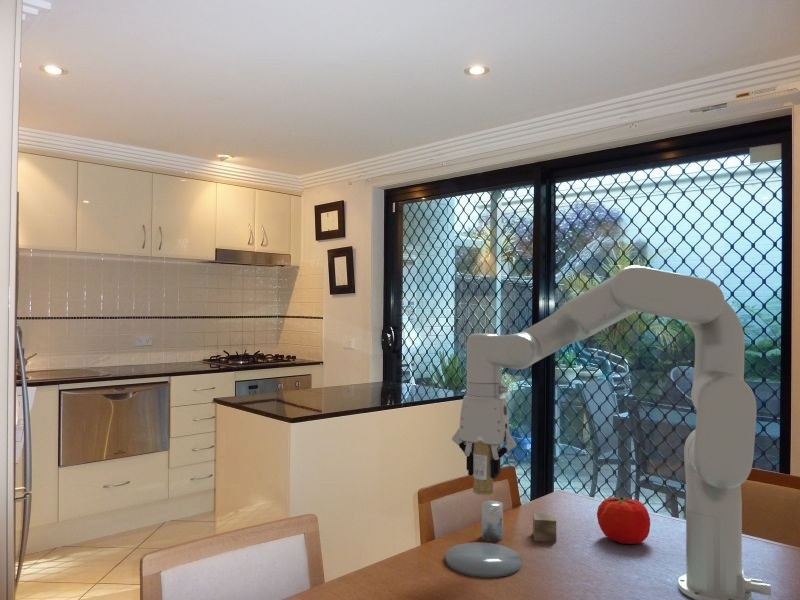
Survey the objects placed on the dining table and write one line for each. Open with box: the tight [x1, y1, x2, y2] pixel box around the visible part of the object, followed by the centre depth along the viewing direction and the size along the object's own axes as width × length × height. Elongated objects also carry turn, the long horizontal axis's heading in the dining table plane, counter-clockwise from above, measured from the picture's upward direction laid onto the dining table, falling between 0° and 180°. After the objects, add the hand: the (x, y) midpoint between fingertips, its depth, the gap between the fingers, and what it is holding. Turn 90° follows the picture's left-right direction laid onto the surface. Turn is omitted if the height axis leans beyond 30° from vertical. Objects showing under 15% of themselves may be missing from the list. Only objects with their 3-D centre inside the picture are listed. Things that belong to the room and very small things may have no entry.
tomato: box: [596, 495, 651, 545], centre depth 144 cm, size 12×12×10 cm
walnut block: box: [532, 512, 557, 543], centre depth 146 cm, size 5×5×5 cm
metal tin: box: [481, 500, 504, 542], centre depth 145 cm, size 5×5×8 cm
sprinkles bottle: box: [472, 436, 495, 496], centre depth 131 cm, size 5×5×13 cm
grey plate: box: [445, 541, 522, 578], centre depth 131 cm, size 16×16×1 cm
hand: (483, 474), depth 131 cm, fingers closed on sprinkles bottle, 4 cm apart
